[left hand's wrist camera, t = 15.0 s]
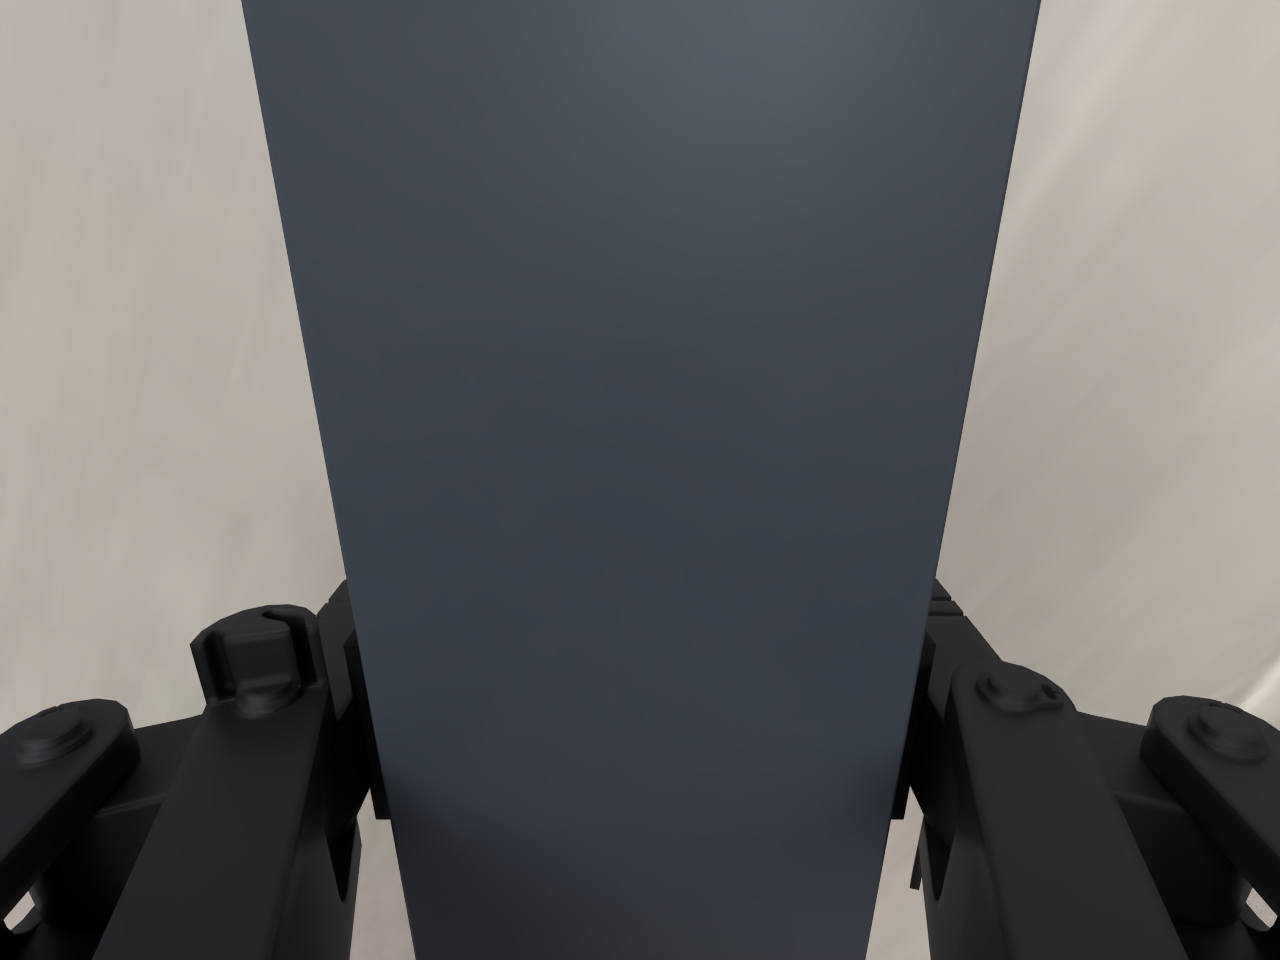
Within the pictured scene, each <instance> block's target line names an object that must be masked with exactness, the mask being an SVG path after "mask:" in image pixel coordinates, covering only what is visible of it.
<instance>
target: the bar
mask: <svg viewBox="0 0 1280 960" xmlns="http://www.w3.org/2000/svg"><path fill="white" fill-rule="evenodd" d="M241 1H242V7H243V12H244V18H245V23H246V29H247V34H248V40H249V45H250V51H251V56H252V62H253V67H254V73H255V78H256V84H257V89H258V95H259V100H260V106H261V111H262V117H263V122H264V128H265V133H266V139H267V144H268V150H269V155H270V161H271V166H272V172H273V177H274V183H275V188H276V194H277V199H278V205H279V210H280V216H281V221H282V227H283V232H284V238H285V243H286V249H287V254H288V260H289V265H290V271H291V276H292V282H293V287H294V293H295V298H296V304H297V309H298V315H299V320H300V326H301V331H302V337H303V342H304V348H305V353H306V359H307V364H308V370H309V375H310V381H311V386H312V392H313V397H314V403H315V408H316V413H317V419H318V424H319V430H320V435H321V441H322V446H323V452H324V457H325V463H326V468H327V474H328V479H329V485H330V490H331V496H332V501H333V507H334V512H335V518H336V523H337V529H338V534H339V540H340V545H341V551H342V556H343V562H344V567H345V573H346V578H347V584H348V589H349V595H350V600H351V606H352V611H353V617H354V622H355V628H356V633H357V639H358V644H359V650H360V655H361V661H362V666H363V672H364V677H365V683H366V688H367V694H368V699H369V705H370V710H371V716H372V721H373V727H374V732H375V738H376V743H377V749H378V754H379V760H380V765H381V771H382V776H383V782H384V787H385V793H386V798H387V804H388V809H389V815H390V820H391V826H392V831H393V837H394V842H395V848H396V853H397V859H398V864H399V870H400V875H401V881H402V886H403V892H404V897H405V903H406V908H407V914H408V919H409V925H410V930H411V935H412V941H413V946H414V952H415V957H416V960H865V958H866V953H867V947H868V942H869V937H870V931H871V926H872V920H873V915H874V909H875V904H876V898H877V893H878V887H879V882H880V876H881V871H882V866H883V860H884V855H885V849H886V844H887V838H888V833H889V827H890V822H891V816H892V811H893V806H894V800H895V795H896V789H897V784H898V778H899V773H900V767H901V762H902V756H903V751H904V745H905V740H906V735H907V729H908V724H909V718H910V713H911V707H912V702H913V696H914V691H915V685H916V680H917V674H918V669H919V664H920V658H921V653H922V647H923V642H924V636H925V631H926V625H927V620H928V614H929V609H930V604H931V598H932V593H933V587H934V582H935V576H936V571H937V565H938V560H939V554H940V549H941V543H942V538H943V533H944V527H945V522H946V516H947V511H948V505H949V500H950V494H951V489H952V483H953V478H954V473H955V467H956V462H957V456H958V451H959V445H960V440H961V434H962V429H963V423H964V418H965V412H966V407H967V402H968V396H969V391H970V385H971V380H972V374H973V369H974V363H975V358H976V352H977V347H978V342H979V336H980V331H981V325H982V320H983V314H984V309H985V303H986V298H987V292H988V287H989V281H990V276H991V271H992V265H993V260H994V254H995V249H996V243H997V238H998V232H999V227H1000V221H1001V216H1002V211H1003V205H1004V200H1005V194H1006V189H1007V183H1008V178H1009V172H1010V167H1011V161H1012V156H1013V150H1014V145H1015V140H1016V134H1017V129H1018V123H1019V118H1020V112H1021V107H1022V101H1023V96H1024V90H1025V85H1026V80H1027V74H1028V69H1029V63H1030V58H1031V52H1032V47H1033V41H1034V36H1035V30H1036V25H1037V19H1038V14H1039V9H1040V3H1041V0H241Z"/></svg>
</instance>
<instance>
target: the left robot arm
mask: <svg viewBox="0 0 1280 960" xmlns="http://www.w3.org/2000/svg"><path fill="white" fill-rule="evenodd" d="M190 647H191V651H192V654H193V658H194V661H195V665H196V668H197V672H198V676H199V679H200V683H201V686H202V690H203V693H204V697H205V700H206V704H207V705H206V707H205V709H204V712H203V714H201V715H198V716H194V717H190V718H186V719H181V720H176V721H171V722H167V723H162V724H157V725H152V726H147V727H142V728H137V729H134V728H133V725H132V722H131V719H130V716H129V713H128V710H127V708H125V707H124V706H123V705H121V704H120V703H118V702H117V701H113V700H105V699H90V700H83V701H75V702H69V703H65V704H61V705H59V706H57V707H56V706H54V707H51V708H48V709H46V710H43V711H41V712H39V713H37V714H36V715H34V716H32V717H30V718H27V719H25V720H23V721H21V722H19V723H17V724H15V725H14V726H12V727H11V728H9V729H8V730H7V731H5V732H4V733H2V734H1V735H0V960H349V958H350V949H351V940H352V930H353V921H354V912H355V902H356V893H357V884H358V874H359V865H360V856H361V847H362V844H361V838H360V831H359V826H358V821H357V814H358V812H359V810H360V808H361V806H362V804H363V801H364V799H365V797H366V795H367V793H368V791H369V788H370V790H371V796H372V801H373V806H374V812H375V817H376V819H390V815H389V809H388V804H387V798H386V793H385V787H384V782H383V776H382V771H381V765H380V760H379V754H378V749H377V743H376V738H375V732H374V727H373V721H372V716H371V710H370V705H369V699H368V694H367V688H366V683H365V677H364V672H363V666H362V661H361V655H360V650H359V644H358V639H357V633H356V628H355V622H354V617H353V611H352V606H351V600H350V595H349V589H348V584H347V579H346V580H344V581H343V582H342V583H341V585H340V586H339V587H338V588H337V590H336V591H335V592H334V593H333V595H332V596H331V597H330V598H329V602H328V603H325V605H324V606H323V607H322V608H321V610H320V611H319V612H318V614H317V618H316V615H315V614H313V613H312V612H311V611H309V610H308V609H307V608H304V607H299V606H295V605H290V604H285V605H266V606H261V607H257V608H252V609H248V610H243V611H241V612H238V613H236V614H233V615H230V616H228V617H225V618H223V619H220V620H219V621H217V622H215V623H214V624H212V625H211V626H209V627H207V628H206V629H204V630H203V631H201V632H200V633H199V635H198V636H197V637H196V638H195V639H194V640H193V641H192V642H191V643H190ZM910 786H911V788H912V790H913V793H914V795H915V797H916V799H917V801H918V803H919V805H920V808H921V810H922V812H923V814H924V816H923V821H922V826H921V831H920V836H919V841H918V846H917V851H916V856H915V861H914V866H913V871H912V876H911V883H910V888H912V889H916V890H919V887H920V883H921V878H922V882H923V891H924V900H925V910H926V919H927V928H928V938H929V947H930V956H931V960H1280V731H1279V730H1277V729H1276V728H1274V727H1273V726H1272V725H1270V724H1269V723H1267V722H1266V721H1264V720H1262V719H1260V718H1258V717H1256V716H1254V715H1252V714H1249V713H1247V712H1245V711H1244V710H1242V709H1240V708H1238V707H1236V706H1233V705H1230V704H1227V703H1225V704H1224V703H1221V701H1216V700H1212V699H1206V698H1199V697H1191V696H1184V695H1183V696H1175V697H1166V698H1163V699H1162V700H1160V701H1159V702H1158V703H1156V704H1155V705H1153V708H1152V711H1151V714H1150V717H1149V720H1148V723H1147V726H1143V725H1138V724H1133V723H1128V722H1123V721H1118V720H1113V719H1108V718H1104V717H1099V716H1094V715H1090V714H1086V713H1082V712H1078V711H1077V710H1076V708H1075V706H1074V704H1073V702H1072V701H1071V700H1070V698H1069V697H1068V696H1067V694H1066V693H1065V692H1064V690H1063V689H1062V688H1060V687H1059V686H1058V685H1056V684H1055V683H1053V682H1052V681H1051V680H1049V679H1048V678H1047V677H1045V676H1043V675H1041V674H1039V673H1037V672H1034V671H1032V670H1030V669H1028V668H1026V667H1023V666H1020V665H1016V664H1012V663H1008V662H1004V661H1002V660H1001V659H1000V658H999V656H998V655H997V654H996V653H995V651H994V650H993V649H992V648H991V646H990V645H989V644H988V643H987V641H986V640H985V639H984V638H983V636H982V635H981V634H980V633H979V631H978V630H977V629H976V628H975V626H974V625H973V624H972V623H971V621H970V620H969V619H968V617H967V616H963V611H962V610H961V609H960V607H959V606H958V605H957V604H956V602H955V601H952V600H951V596H950V595H949V594H948V592H947V591H946V590H945V589H944V587H943V586H942V585H941V584H940V582H939V581H938V580H937V579H936V578H935V582H934V587H933V593H932V598H931V604H930V609H929V614H928V620H927V625H926V631H925V636H924V642H923V647H922V653H921V658H920V664H919V669H918V674H917V680H916V685H915V691H914V696H913V702H912V707H911V713H910V718H909V724H908V729H907V735H906V740H905V745H904V751H903V756H902V762H901V767H900V773H899V778H898V784H897V789H896V795H895V800H894V806H893V811H892V816H891V819H904V814H905V809H906V804H907V798H908V793H909V788H910ZM1252 887H1253V888H1254V889H1255V890H1256V892H1257V893H1258V894H1259V895H1260V896H1261V897H1262V899H1263V900H1264V901H1265V902H1266V903H1267V904H1268V906H1269V907H1270V908H1271V909H1272V910H1273V911H1274V912H1275V914H1276V915H1277V916H1278V917H1277V919H1276V921H1275V923H1274V925H1273V926H1272V927H1271V928H1270V927H1268V926H1267V925H1266V924H1265V923H1264V922H1263V921H1262V920H1261V919H1260V918H1258V917H1257V915H1256V914H1255V913H1254V912H1253V911H1252V909H1251V908H1250V907H1249V906H1248V905H1247V903H1246V900H1247V898H1248V896H1249V894H1250V891H1251V889H1252ZM28 891H29V893H30V895H31V897H32V900H33V902H34V904H35V906H34V907H33V908H32V909H31V910H30V912H29V913H28V914H27V915H26V917H25V918H24V919H23V920H22V921H21V922H20V923H19V924H17V925H16V926H15V927H14V928H13V929H12V930H9V929H8V928H7V927H6V924H5V922H4V918H5V917H6V916H7V915H8V914H9V913H10V911H11V910H12V909H13V908H14V907H15V906H16V904H17V903H18V902H19V901H20V900H21V899H22V897H23V896H24V895H25V894H26V893H27V892H28Z"/></svg>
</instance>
